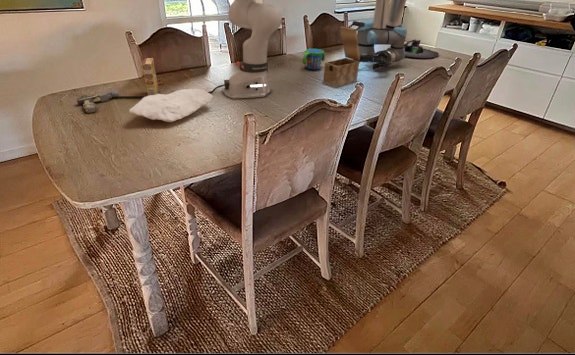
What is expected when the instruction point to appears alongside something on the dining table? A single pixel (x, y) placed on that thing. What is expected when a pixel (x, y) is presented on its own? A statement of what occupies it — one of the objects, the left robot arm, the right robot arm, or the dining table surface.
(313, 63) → the snack cup
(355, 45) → the lid
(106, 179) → the dining table surface
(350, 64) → the chest
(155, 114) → the crumpled cloth
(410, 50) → the dark round disc
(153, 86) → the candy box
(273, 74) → the dining table surface
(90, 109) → the handgun
